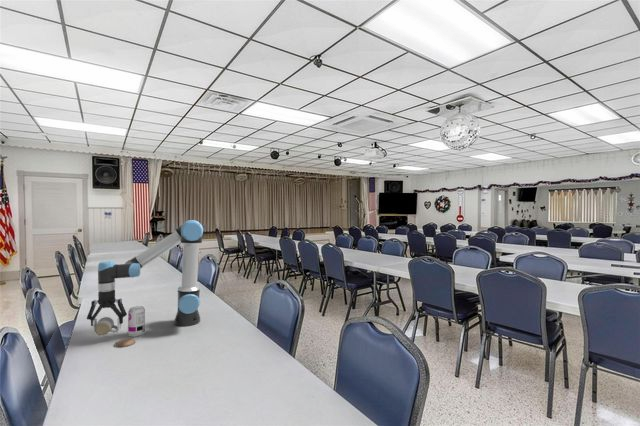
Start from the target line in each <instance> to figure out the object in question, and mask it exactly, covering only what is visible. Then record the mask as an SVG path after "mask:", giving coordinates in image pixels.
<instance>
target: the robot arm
mask: <svg viewBox="0 0 640 426" xmlns="http://www.w3.org/2000/svg"><path fill="white" fill-rule="evenodd" d="M203 234H204V227H203V224H201V223H200V222H199V221H197V220H195V219H188V220H186V221H184V222H183V223H182V224H180V226H178V227H177V228H175V229H174V231H173V232H172V233H171V234H169V235H167V236H166V237H164V238H163V239H160V240H159V241H158V242H157V243H155V244H153V245H152V246H150V247H148V248H146V250H144V251H142V252H140V253H138V254H137V255H136V256H134V257H133V258H131V259H128V260H127V261H125V263H124V264H123V263H121V264H116V263H115V261H114V260H106V261H100V262H99V263H98V264H97V267H98V268H97V280H98V281H97V288H98V295H97V298H98V300H97V299H94V300H92V301H91V306H90V307H89V308H90V309H89V311H88V314H87V317H86V319H87V320H90V327H92V334H93V333H94V334H96V332H95V327H96V325H97V323H98V319H97V316H98V315H99V314H100V312H101V311H102V309H107V308H108V309H109V308H110V309H111V310H112V311H113V312H114V314H115V315H116V316H117V317H118V318H117V320H116V321H117V325H116V326H117V330H118V332H119V331H120V330H122V324H123V323H124V317H126V316H127V315H128V314H127V312H126V308H125V307H124V304H123V299H122V298H116V279H122V278H123V279H126V278H136V277H138V278H139V277H140V275H141V269H142V268H143V267H145V266H146V265H148V264H150V263H151V262H153V261H155V260H156V259H158V258H159V257H161V256H162V255H164V254H165V253H167V252H169V251H170V250H171V249H173V248H175V247H176V246H178V245H179V244H181V245H182V247H183V248H182V267H181V268H182V270H181V285H180V286H178V287H177V311H176V313H175V318H174V321H173V322H174V325H175V326H178V327H189V326H194V325H197V324H199V323H200V322H201V316H200V312H199V307H200V304H201V300H200V292H201V291H200V290H201V289H200V287H199V286H198V277H199V276H198V275H199V253H200V252H199V250H200V249H199V248H200V245H202V243H203ZM97 304H98V307H97V309H96V306H97ZM116 304H117V305H116ZM117 306H118V307H117ZM95 310H96V311H95ZM198 322H199V323H198ZM196 323H197V324H196Z"/></svg>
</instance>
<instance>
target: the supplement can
mask: <svg viewBox="0 0 640 426" xmlns="http://www.w3.org/2000/svg"><path fill="white" fill-rule="evenodd" d="M127 312H128V314H127V315H128V316H127V317H128V321H127V323H128V324H127V325H128V326H127V330H128V331H127V335H128V336H129V337H131V338H132V337H133V338H134V337H135V338H136V337H140V336H143V335H144V334H145V333H146V308H145V306H143V305H136V306H132V307H130V308H129V310H128V311H127Z"/></svg>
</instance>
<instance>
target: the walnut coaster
mask: <svg viewBox="0 0 640 426" xmlns="http://www.w3.org/2000/svg"><path fill="white" fill-rule="evenodd" d="M136 342H137V341H136V339H135V338H123V339H120V340H117V341H116V342H115V347H116V348H127V347H131V346H134V345H135V344H136Z"/></svg>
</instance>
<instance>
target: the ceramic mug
mask: <svg viewBox="0 0 640 426" xmlns="http://www.w3.org/2000/svg"><path fill="white" fill-rule="evenodd" d="M114 323H115V322H114V320H113V318H112V317H108V316H104V317H101V318H100V319H99V320H97V325H96V327H95V334H97V335H98V336H106V335H107V334H109V333H116V334H117V333H118V332H119V331H118V330H117V325H115V324H114Z"/></svg>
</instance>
